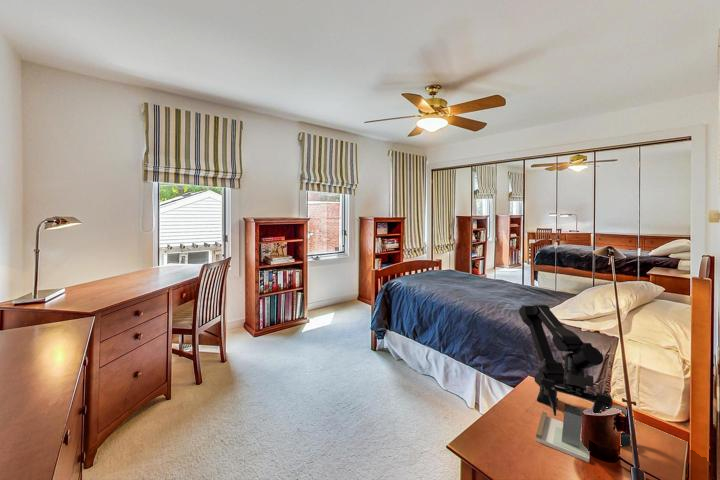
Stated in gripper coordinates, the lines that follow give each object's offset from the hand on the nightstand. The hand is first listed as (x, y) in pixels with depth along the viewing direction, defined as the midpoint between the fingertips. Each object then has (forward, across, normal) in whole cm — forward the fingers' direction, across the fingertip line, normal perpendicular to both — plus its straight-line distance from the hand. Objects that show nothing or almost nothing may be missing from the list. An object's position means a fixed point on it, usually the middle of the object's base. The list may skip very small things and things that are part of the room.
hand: (572, 421), depth 95 cm
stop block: (+4, 0, +6) cm, 7 cm away
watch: (-2, +12, +15) cm, 20 cm away
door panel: (+4, -2, +9) cm, 9 cm away
